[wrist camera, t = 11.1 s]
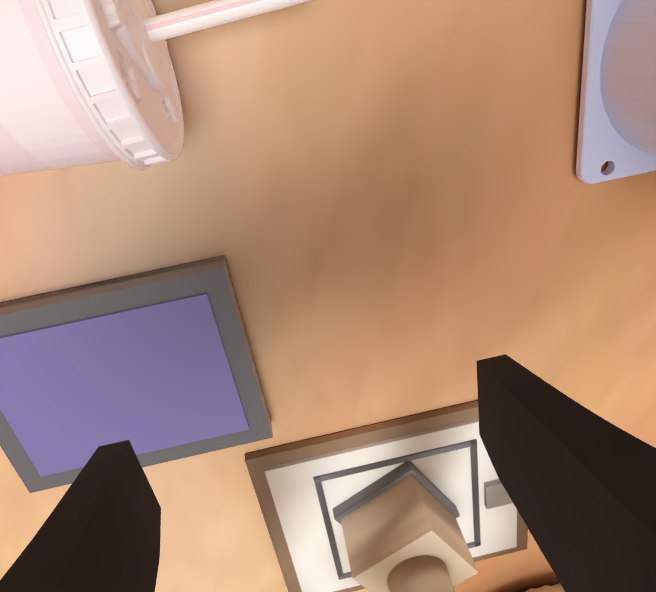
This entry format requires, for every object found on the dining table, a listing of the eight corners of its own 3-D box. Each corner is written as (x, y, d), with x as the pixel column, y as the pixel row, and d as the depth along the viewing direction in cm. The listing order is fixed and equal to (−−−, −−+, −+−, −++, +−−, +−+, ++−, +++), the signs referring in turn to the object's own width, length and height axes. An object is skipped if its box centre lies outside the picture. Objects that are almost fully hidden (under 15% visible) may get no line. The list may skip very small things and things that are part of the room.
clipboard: (540, 385, 25) (550, 398, 25) (534, 540, 31) (542, 554, 30) (244, 453, 25) (245, 469, 24) (292, 598, 30) (294, 614, 29)
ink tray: (224, 255, 20) (223, 268, 19) (271, 421, 24) (272, 439, 23) (-59, 315, 19) (-74, 332, 19) (37, 474, 23) (29, 494, 23)
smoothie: (-94, 234, 18) (337, 123, 17) (-312, 282, 11) (352, 111, 11) (-191, 18, 16) (283, -112, 16) (-507, -62, 10) (263, -283, 9)
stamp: (408, 459, 26) (441, 547, 22) (455, 505, 28) (493, 593, 24) (332, 509, 26) (350, 601, 22) (383, 550, 28) (408, 642, 24)
